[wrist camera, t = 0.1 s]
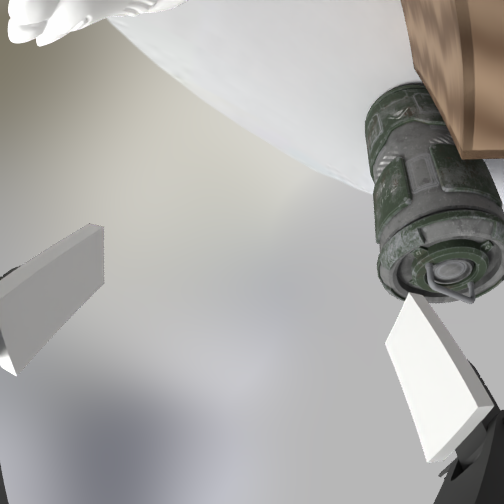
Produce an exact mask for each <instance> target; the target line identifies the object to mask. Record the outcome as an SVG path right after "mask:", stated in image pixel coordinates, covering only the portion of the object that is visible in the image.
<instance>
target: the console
mask: <svg viewBox="0 0 504 504" xmlns="http://www.w3.org/2000/svg"><path fill="white" fill-rule="evenodd" d="M401 4H402V8H403V12H404V16H405V21H406V25H407V30H408V35H409V40H410V46H411V51H412V57H413V64H414V69H415V70H416V72H417V74H418V75H419V77H420V79H421V80H422V82H423V84H424V85H425V87H426V89H427V90H428V92H429V94H430V96H431V98H432V99H433V101H434V103H435V105H436V107H437V109H438V110H439V112H440V114H441V116H442V118H443V120H444V122H445V124H446V126H447V128H448V130H449V132H450V134H451V137H452V139H453V141H454V143H455V145H456V148H457V150H458V152H459V154H460V157H461V159H462V160H464V159H500V158H504V0H401Z"/></svg>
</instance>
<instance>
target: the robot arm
mask: <svg viewBox="0 0 504 504" xmlns="http://www.w3.org/2000/svg"><path fill="white" fill-rule="evenodd" d="M103 284H104V227H103V226H99V225H94V224H90V223H89V224H88V225H86V226H84V227H82V228H81V229H79V230H77V231H76V232H74V233H72V234H71V235H69V236H68V237H66V238H64V239H62V240H61V241H59V242H57V243H56V244H54V245H53V246H51V247H50V248H48V249H46V250H45V251H43V252H41V253H40V254H38V255H37V256H35V257H34V258H32V259H31V260H29V261H28V262H26V263H25V264H23V265H21V266H19V267H16V268H13V269H11V270H10V271H8V272H7V273H6V274H4V275H3V277H0V365H1V367H2V368H4V369H5V370H7V371H9V372H10V373H12V374H14V375H15V376H18V374H20V372H21V371H22V370H23V369H24V368H25V366H26V365H27V364H28V363H29V362H30V361H31V360H32V359H33V357H34V356H35V355H36V354H37V353H38V352H39V351H40V350H41V349H42V347H43V346H44V345H45V344H46V343H47V342H48V341H49V340H50V339H51V337H52V336H53V335H54V334H55V333H56V332H57V331H58V330H59V329H60V328H61V327H62V326H63V325H64V324H65V323H66V321H68V319H69V318H70V317H71V316H72V315H73V314H74V313H75V312H76V311H77V310H78V309H79V308H80V307H81V306H82V305H83V304H84V303H85V302H86V301H87V300H88V299H89V298H90V297H91V296H92V295H93V294H94V293H95V292H96V291H97V290H98V289H99V288H100V287H101V286H102V285H103ZM385 345H386V347H387V350H388V352H389V355H390V357H391V360H392V362H393V365H394V368H395V370H396V373H397V375H398V378H399V381H400V383H401V386H402V389H403V391H404V394H405V397H406V400H407V402H408V405H409V408H410V411H411V414H412V417H413V420H414V423H415V426H416V429H417V432H418V435H419V438H420V441H421V444H422V448H423V450H424V454H425V457H426V461H427V463H429V462H438V461H444V460H445V459H446V458H447V457H448V456H449V455H450V454H451V453H453V451H454V450H455V451H456V453H457V456H458V457H457V458H456V459H455V460H454V461H453V462H452V463H451V464H450V465H448V466H447V467H446V468H445V469H444V470H443V471H442V472H441V473H440V474H439V477H441V476H442V475H444V474H445V473H447V472H448V473H447V476H446V477H445V478H444V479H445V480H444V482H443V485H442V487H441V489H440V491H439V493H438V495H437V497H436V500H435V502H434V504H504V410H501V411H500V409H499V407H498V406H497V404H496V402H495V400H494V398H493V397H492V395H491V393H490V391H489V390H488V388H487V386H486V385H484V384H485V383H484V381H483V380H482V378H480V375H479V373H478V372H477V370H476V368H475V367H474V366H473V365H472V364H471V363H470V362H469V361H468V360H467V359H466V357H465V355H464V354H463V352H462V351H461V349H460V348H459V346H458V345H457V343H456V342H455V340H454V339H453V337H452V336H451V334H450V333H449V331H448V330H447V328H446V327H445V325H444V324H443V322H442V321H441V320H440V318H439V317H438V315H437V314H436V313H435V311H434V310H433V308H432V307H431V306H430V304H429V303H428V301H427V300H426V299H425V297H424V296H423V295H420V294H415V293H410V292H409V293H408V295H407V298H406V300H405V302H404V305H403V307H402V309H401V311H400V313H399V316H398V318H397V320H396V322H395V324H394V326H393V328H392V330H391V332H390V334H389V336H388V338H387V340H386V343H385ZM0 504H9V503H8V500H7V495H6V491H5V486H4V482H3V476H2V471H1V465H0Z"/></svg>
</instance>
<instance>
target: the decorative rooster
mask: <svg viewBox="0 0 504 504" xmlns="http://www.w3.org/2000/svg"><path fill="white" fill-rule="evenodd" d="M186 1H188V0H10V3H9V10H8V11H9V15H10V17H11V19H10V20H9V24H8V36H9V39H10V40H11V42H13V43H24V42H28V41H30V40H32V39H35V38H36V40H37V45H38V46H43V45H46V44H49V43H52V42H54V41H56V40H58V39H60V38H62V37H63V36H65V35H66V34H68V33H69V32H70V31H75V30H78V29H82V28H84V27H86V26H89V25H91V24H93V23H95V22H97V21H100V20H102V19H104V18H107V17H114V16H119V17H125V16H126V15H130V16H138V15H140V14H141V13H154V12H161V11H166V10H171V9H173V8H175V7H177V6H179V5H181V4H183V3H185V2H186Z"/></svg>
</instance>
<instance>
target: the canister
mask: <svg viewBox="0 0 504 504" xmlns="http://www.w3.org/2000/svg"><path fill="white" fill-rule="evenodd" d="M365 137H366V144H367V151H368V159H369V167H370V173H371V177H372V179H373V181H374V184H375V187H374V192H373V199H374V213H375V231H376V243H377V244H380V254H379V257H378V262H377V270H378V277H379V279H380V281H381V282H382V284H383V286H384V288H385V289H386V290H387V291H388V293H389V294H391V295H392V296H394V297H396V298H397V299H400V300H403V301H405V300H406V298H407V295H408V293H409V292H410V293H415V294H420V295H423V296H424V297H425V299H426V300H427V301H428V303H445V302H453V301H458V300H461V301H463V302H466V303H469V304H472V303H474V301H475V298H477V297H479V296H482V295H483V294H486V293H487V292H489V291H491V290H492V289H494V288H495V287H496V286H498V285H499V284H500V283H501V282H502V281H503V280H504V212H503V209H502V201H501V199H500V196H499V194H498V191H497V189H496V186H495V184H494V182H493V179H492V177H491V175H490V172H489V170H488V168H487V166H486V164H485V162H484V161H483V160H482V159H464V160H462V159H461V157H460V154H459V152H458V150H457V148H456V145H455V143H454V141H453V139H452V137H451V134H450V132H449V130H448V128H447V126H446V124H445V122H444V120H443V118H442V116H441V114H440V112H439V110H438V109H437V107H436V105H435V103H434V101H433V99H432V98H431V96H430V94H429V92H428V90H427V89H426V87H425V86H423V85H405V86H401V87H397V88H394V89H392V90H390V91H388V92H386V93H384V94H383V95H382V96H381V97H379V98H378V99H377V100H376V101H375V103H374V104H373V105H372V106H371V108H370V110H369V112H368V114H367V117H366V121H365Z"/></svg>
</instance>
